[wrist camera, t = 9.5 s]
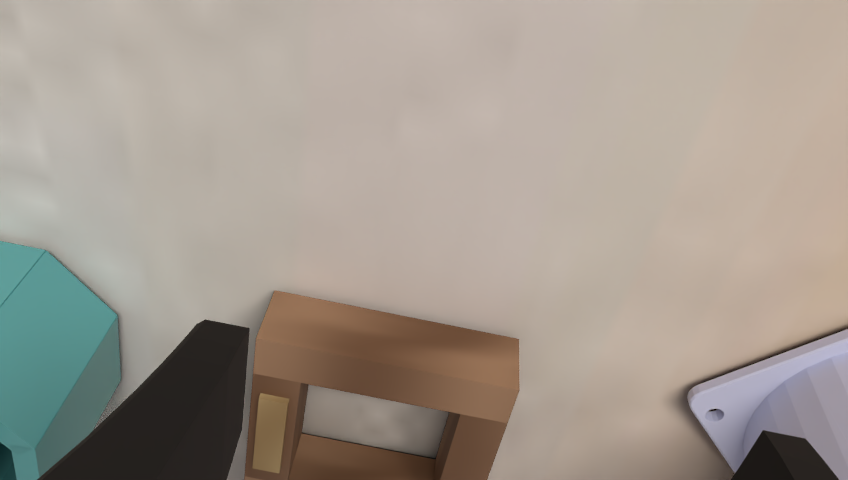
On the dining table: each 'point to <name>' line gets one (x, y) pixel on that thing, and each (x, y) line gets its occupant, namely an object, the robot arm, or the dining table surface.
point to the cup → (50, 361)
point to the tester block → (375, 390)
